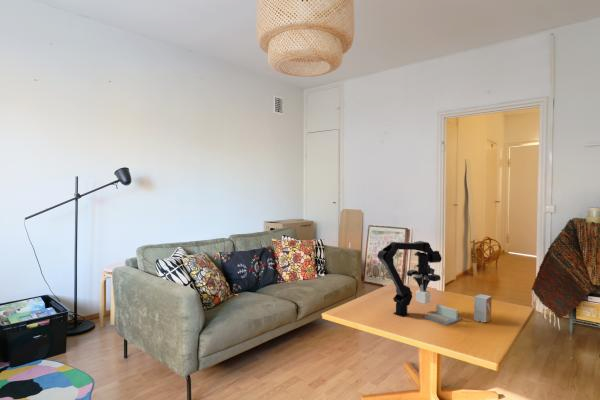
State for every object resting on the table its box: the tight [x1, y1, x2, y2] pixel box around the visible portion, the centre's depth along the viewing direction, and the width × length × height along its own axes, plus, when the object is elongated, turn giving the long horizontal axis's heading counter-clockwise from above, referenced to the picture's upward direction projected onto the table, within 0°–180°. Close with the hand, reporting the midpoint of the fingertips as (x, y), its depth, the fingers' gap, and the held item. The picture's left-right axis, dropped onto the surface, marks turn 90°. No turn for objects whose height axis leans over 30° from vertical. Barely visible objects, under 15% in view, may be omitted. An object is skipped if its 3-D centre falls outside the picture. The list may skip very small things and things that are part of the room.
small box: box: [473, 293, 493, 323], centre depth 193 cm, size 8×6×13 cm
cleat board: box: [423, 304, 462, 326], centre depth 194 cm, size 14×14×6 cm
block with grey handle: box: [415, 283, 431, 304], centre depth 205 cm, size 5×6×10 cm
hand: (423, 290), depth 205 cm, fingers closed on block with grey handle
